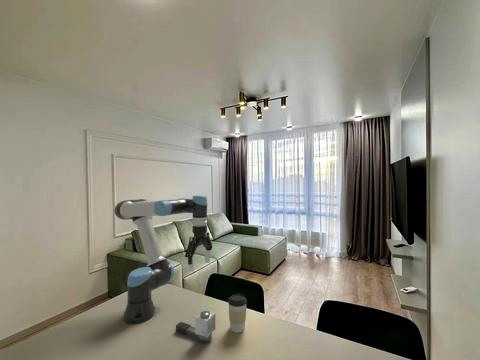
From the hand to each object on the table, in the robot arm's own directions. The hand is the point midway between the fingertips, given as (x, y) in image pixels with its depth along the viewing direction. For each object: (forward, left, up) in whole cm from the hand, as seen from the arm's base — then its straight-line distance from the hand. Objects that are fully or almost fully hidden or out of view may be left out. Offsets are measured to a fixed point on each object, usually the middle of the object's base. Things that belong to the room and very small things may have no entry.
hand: (199, 266), depth 117 cm
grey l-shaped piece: (+6, -12, -27) cm, 30 cm away
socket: (+12, -12, -23) cm, 29 cm away
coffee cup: (+21, +2, -27) cm, 34 cm away
